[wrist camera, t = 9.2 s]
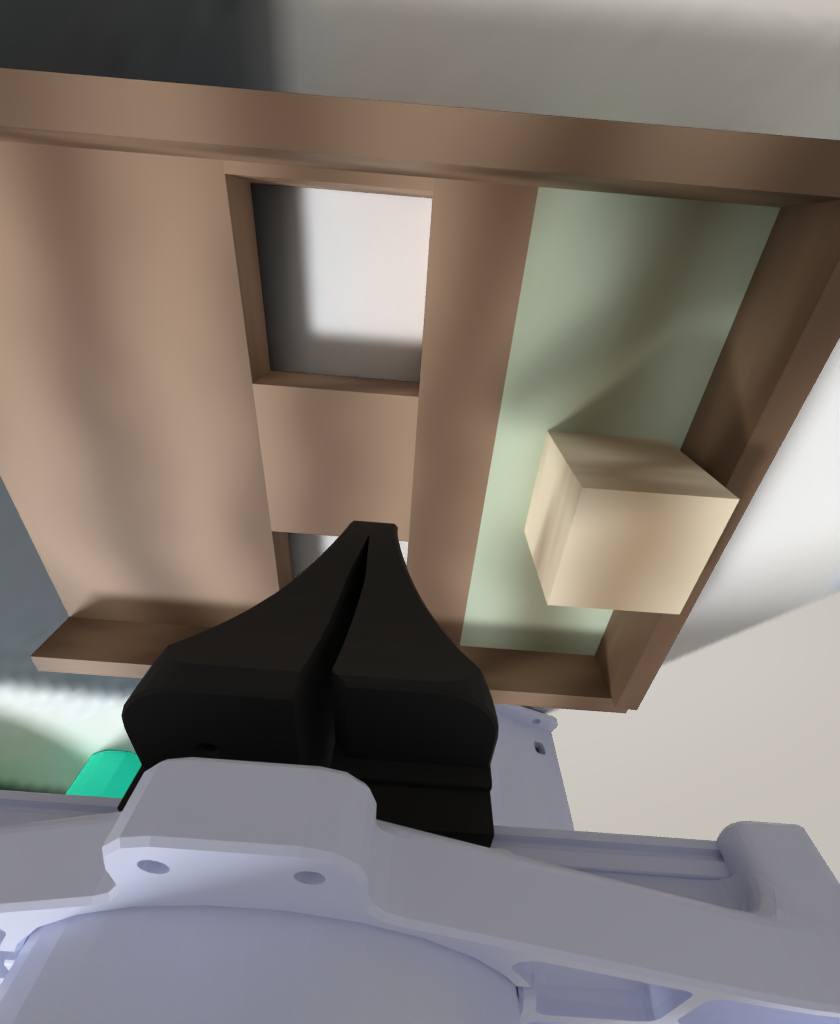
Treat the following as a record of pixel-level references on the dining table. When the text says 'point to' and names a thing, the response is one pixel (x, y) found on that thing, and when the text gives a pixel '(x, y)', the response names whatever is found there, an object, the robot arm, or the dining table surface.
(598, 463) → the beech block
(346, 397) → the box
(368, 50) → the dining table surface
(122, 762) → the candle
